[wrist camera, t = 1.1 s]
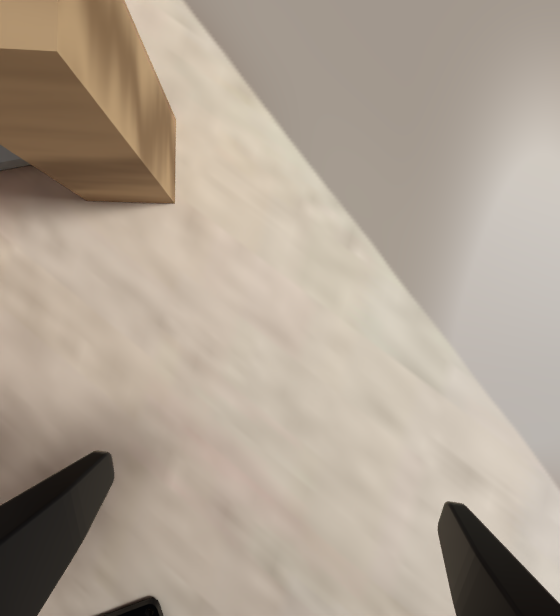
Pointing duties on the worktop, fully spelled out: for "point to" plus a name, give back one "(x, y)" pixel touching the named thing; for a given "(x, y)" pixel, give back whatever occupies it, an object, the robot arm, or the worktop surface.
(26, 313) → the worktop surface
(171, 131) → the walnut block
